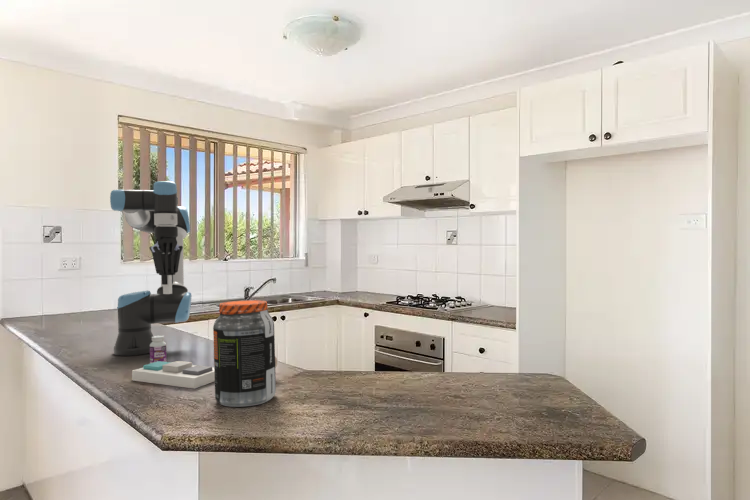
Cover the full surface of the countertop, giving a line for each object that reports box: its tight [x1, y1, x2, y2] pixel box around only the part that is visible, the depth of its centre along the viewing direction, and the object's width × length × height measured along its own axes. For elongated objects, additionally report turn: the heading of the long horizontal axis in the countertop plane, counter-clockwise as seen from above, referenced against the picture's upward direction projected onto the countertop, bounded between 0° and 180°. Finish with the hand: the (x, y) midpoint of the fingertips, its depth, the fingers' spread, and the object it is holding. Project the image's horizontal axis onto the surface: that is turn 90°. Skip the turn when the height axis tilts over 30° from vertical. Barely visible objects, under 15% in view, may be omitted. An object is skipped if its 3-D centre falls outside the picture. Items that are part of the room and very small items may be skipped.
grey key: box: [163, 360, 193, 373], centre depth 158 cm, size 6×6×3 cm
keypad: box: [131, 364, 215, 389], centre depth 158 cm, size 12×25×3 cm, turn 66°
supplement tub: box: [212, 299, 277, 408], centre depth 136 cm, size 16×16×26 cm
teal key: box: [142, 361, 172, 371], centre depth 161 cm, size 6×6×3 cm
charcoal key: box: [182, 364, 213, 375], centre depth 154 cm, size 6×6×3 cm
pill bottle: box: [149, 335, 168, 364], centre depth 178 cm, size 5×5×10 cm
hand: (167, 293), depth 179 cm, fingers closed
